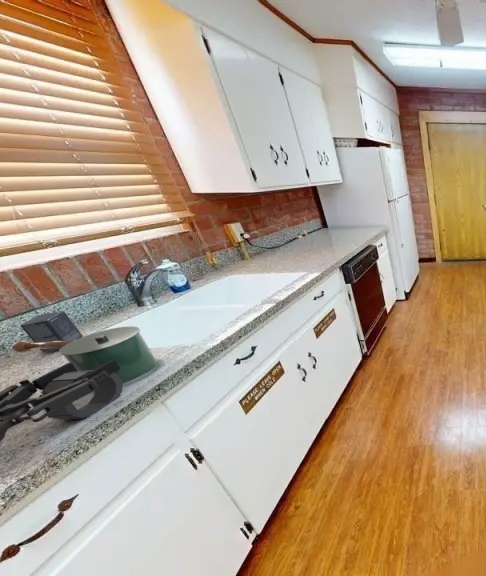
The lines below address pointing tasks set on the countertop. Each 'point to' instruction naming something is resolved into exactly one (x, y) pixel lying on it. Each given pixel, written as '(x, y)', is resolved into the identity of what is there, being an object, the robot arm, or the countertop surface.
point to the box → (51, 328)
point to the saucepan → (103, 351)
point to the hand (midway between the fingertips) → (94, 365)
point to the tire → (101, 399)
